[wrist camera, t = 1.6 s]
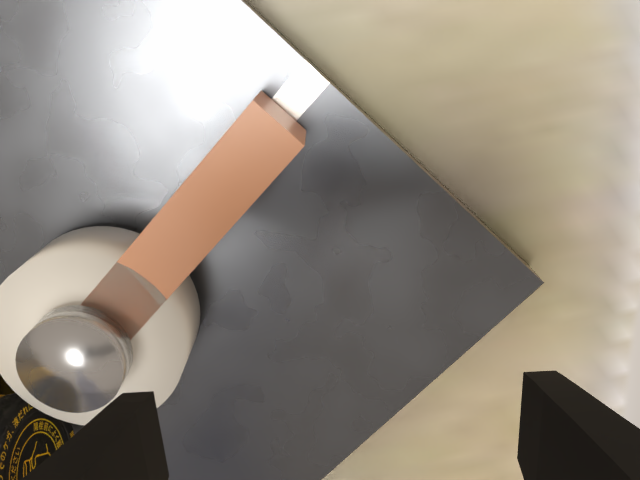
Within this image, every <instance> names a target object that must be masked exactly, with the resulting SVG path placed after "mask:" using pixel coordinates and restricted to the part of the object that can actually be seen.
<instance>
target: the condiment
mask: <svg viewBox="0 0 640 480" xmlns="http://www.w3.org/2000/svg"><path fill="white" fill-rule="evenodd" d="M73 435H74V430H73V427H72V423H69V422H65V421H62V420H59V419H56V418H54V417H52V416H50V415H47V414H45V413H43V412H41V411H40V410H38V409H36V408H35V407H33V406H31V405H30V404H29V403H27V402H26V401H25V400H23V399H22V398H21V397H20V396H19V395H18V394H17V393H14V394H7V395H1V394H0V480H21V479H22V478H23V477H25V476H26V475H27V474H28V473H30V472H31V471H32V470H33V469H35V468H36V467H37V466H38V465H40V464H41V463H42V462H43V461H45V460H46V459H47V458H48V457H49V456H50V455H52V454H53V453H54V452H55V451H56V450H57V449H58V448H60V447H61V446H62V445H63V444H64V443H65V442H67V441H68V440H69V439H70V438H71V437H72V436H73Z"/></svg>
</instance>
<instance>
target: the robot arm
mask: <svg viewBox="0 0 640 480" xmlns="http://www.w3.org/2000/svg"><path fill="white" fill-rule="evenodd" d="M517 459H518V462H519V465H520V468H521V471H522V474H523V477H524V480H640V429H639V428H637V427H636V426H635V425H633V424H632V423H630V422H629V421H627V420H626V419H624V418H623V417H622V416H620V415H619V414H617V413H616V412H614V411H613V410H612V409H610V408H609V407H607V406H606V405H604V404H603V403H602V402H600V401H599V400H597V399H596V398H595V397H593V396H592V395H590V394H589V393H588V392H586V391H585V390H583V389H582V388H580V387H579V386H578V385H576V384H575V383H573V382H572V381H570V380H569V379H568V378H566V377H565V376H563V375H562V374H560V373H558V372H557V371H539V372H524V373H523V387H522V401H521V415H520V428H519V442H518V456H517ZM168 478H169V471H168V466H167V461H166V455H165V450H164V445H163V439H162V434H161V429H160V423H159V418H158V413H157V407H156V402H155V397H154V391H150V392H131V393H122V394H121V395H120V396H118V397H117V398H116V399H115V400H113V401H112V402H111V403H110V404H109V405H107V406H106V407H105V408H104V409H103V410H102V411H101V412H99V413H98V414H97V415H96V416H95V417H94V418H93V419H92V420H90V421H89V422H88V423H87V424H86V425H85V426H84V427H83V428H81V429H80V430H79V431H78V432H77V433H76V434H75V435H73V436H72V437H71V438H70V439H69V440H68V441H67V442H65V443H64V444H63V445H62V446H61V447H60V448H58V449H57V450H56V451H55V452H54V453H53V454H52V455H50V456H49V457H48V458H47V459H46V460H45V461H43V462H42V463H41V464H40V465H38V466H37V467H36V468H35V469H33V470H32V471H31V472H30V473H28V474H27V475H26V476H25V477H23V478H22V479H21V480H168Z"/></svg>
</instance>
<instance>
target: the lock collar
mask: <svg viewBox="0 0 640 480" xmlns="http://www.w3.org/2000/svg"><path fill="white" fill-rule="evenodd" d="M305 139H306V130H305V129H304V128H303V127H302V126H301V125H300V124H299V123H298V122H296V121H295V120H294V119H293V118H292V117H291V116H290V115H289V114H287V113H286V112H285V111H284V110H283V109H282V108H281V107H280V106H279V105H277V104H276V103H275V102H274V101H273V100H272V99H271V98H270V97H268V96H267V95H266V94H265V93H264V92H263V91H262V90H261V91H260V92H259V94H258V95H257V96H256V97H255V98H254V99H253V101H252V102H251V103H250V104H249V105H248V106H247V108H246V109H245V110H244V111H243V112H242V114H241V115H240V116H239V117H238V118H237V120H236V121H235V122H234V123H233V124H232V125H231V127H230V128H229V129H228V130H227V131H226V133H225V134H224V135H223V136H222V137H221V139H220V140H219V141H218V142H217V143H216V144H215V146H214V147H213V148H212V149H211V150H210V152H209V153H208V154H207V155H206V156H205V158H204V159H203V160H202V161H201V162H200V163H199V165H198V166H197V167H196V168H195V169H194V171H193V172H192V173H191V174H190V175H189V177H188V178H187V179H186V180H185V181H184V182H183V184H182V185H181V186H180V187H179V188H178V190H177V191H176V192H175V193H174V194H173V196H172V197H171V198H170V199H169V200H168V201H167V203H166V204H165V205H164V206H163V207H162V209H161V210H160V211H159V212H158V213H157V215H156V216H155V217H154V218H153V219H152V220H151V222H150V223H149V224H148V225H147V226H146V228H145V229H144V230H143V231H142V232H141V234H139V233H137V232H134V231H131V230H127V229H123V228H118V227H111V226H93V227H84V228H80V229H76V230H73V231H70V232H68V233H65V234H63V235H61V236H59V237H57V238H56V239H54V240H52V241H51V242H50V243H49V244H47V245H46V246H45V247H44V248H42V249H41V250H40V251H39V252H38V253H36V254H35V255H34V256H33V257H31V258H30V259H29V260H28V261H27V262H25V263H24V264H23V265H22V266H20V267H19V268H18V269H17V270H16V271H14V272H13V273H12V274H11V275H9V276H8V277H7V278H6V279H5V281H4V282H3V283H2V284H1V285H0V374H1V376H2V377H3V379H4V380H5V382H6V383H7V384H8V385H9V386H10V387H11V388H12V390H13V391H14V392H15V393H17V394H18V395H19V396H20V397H21V398H22V399H23V400H25V401H26V402H27V403H29V404H30V405H31V406H33V407H35V408H36V409H38V410H40V411H41V412H43V413H45V414H47V415H50V416H52V417H54V418H56V419H59V420H62V421H65V422H69V423H73V424H78V425H86V424H87V423H88V422H89V421H90V420H92V419H93V418H94V417H95V416H96V415H97V414H98V413H99V412H101V411H102V410H103V409H104V408H105V407H106V406H107V405H109V404H110V403H111V402H112V401H113V400H115V399H116V398H117V397H118V396H120V395H121V394H122V393H131V392H150V391H154V397H155V402H156V407H157V408H158V407H159V406H160V405H161V404H163V403H164V402H165V401H166V400H167V399H168V397H169V396H170V395H171V394H172V393H173V391H174V389H175V388H176V386H177V384H178V382H179V380H180V377H181V375H182V372H183V370H184V367H185V365H186V362H187V360H188V357H189V355H190V352H191V349H192V347H193V344H194V342H195V339H196V337H197V334H198V329H199V325H200V303H199V299H198V294H197V291H196V289H195V286H194V283H193V281H192V279H191V278H190V276H189V274H190V273H191V272H192V271H193V270H194V269H195V268H196V267H197V265H198V264H199V263H200V262H201V261H202V260H203V259H204V258H205V257H206V255H207V254H208V253H209V252H210V251H211V250H212V249H213V248H214V247H215V245H216V244H217V243H218V242H219V241H220V240H221V239H222V238H223V236H224V235H225V234H226V233H227V232H228V231H229V230H230V229H231V228H232V226H233V225H234V224H235V223H236V222H237V221H238V220H239V219H240V218H241V216H242V215H243V214H244V213H245V212H246V211H247V210H248V209H249V207H250V206H251V205H252V204H253V203H254V202H255V201H256V200H257V199H258V197H259V196H260V195H261V194H262V193H263V192H264V191H265V190H266V188H267V187H268V186H269V185H270V184H271V183H272V182H273V181H274V180H275V178H276V177H277V176H278V175H279V174H280V173H281V172H282V171H283V170H284V168H285V167H286V166H287V165H288V164H289V163H290V162H291V161H292V159H293V158H294V157H295V156H296V155H297V154H298V153H299V152H300V151H301V149H302V148H303V147H304V146H305ZM70 305H82V306H88V307H92V308H95V309H98V310H100V311H102V312H104V313H106V314H108V315H109V316H111V317H112V318H114V319H115V320H116V321H117V322H118V323H119V324H120V325H121V326H122V327H123V328H124V330H125V331H126V333H127V334H128V336H129V338H130V341H131V344H132V348H133V362H132V366H131V368H130V371H129V372H128V374H127V376H126V378H125V380H124V382H123V383H122V385H121V387H120V389H119V391H118V393H117V394H116V396H115V397H114V398H113V399H112V400H111V401H110V402H109V403H107V404H106V405H105V406H103V407H101V408H99V409H96V410H93V411H89V412H83V413H71V412H64V411H60V410H57V409H54V408H51V407H49V406H47V405H45V404H43V403H42V402H40V401H39V400H37V399H36V398H35V397H33V396H32V395H31V394H30V393H29V392H28V390H27V389H26V388H25V387H24V385H23V384H22V382H21V380H20V378H19V376H18V373H17V369H16V360H15V359H16V352H17V349H18V346H19V344H20V342H21V341H22V339H23V338H24V337H25V336H26V335H27V334H28V332H29V331H30V330H31V329H32V328H33V327H34V326H35V325H36V324H37V323H38V322H39V321H40V320H41V319H42V318H43V317H44V316H45V315H46V314H47V313H49V312H51V311H52V310H54V309H57V308H60V307H64V306H70Z"/></svg>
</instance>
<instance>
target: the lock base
mask: <svg viewBox="0 0 640 480" xmlns="http://www.w3.org/2000/svg"><path fill="white" fill-rule="evenodd" d="M261 90H262V91H263V92H264V93H265V94H266V95H267V96H268V97H270V98H271V99H272V100H273V101H274V102H275V103H276V104H277V105H279V106H280V107H281V108H282V109H283V110H284V111H285V112H286V113H287V114H289V115H290V116H291V117H292V118H293V119H294V120H295V121H296V122H298V123H299V124H300V125H301V126H302V127H303V128H304V129H305V130H306V139H305V146H304V147H303V148H302V149H301V151H300V152H299V153H298V154H297V155H296V156H295V157H294V158H293V159H292V161H291V162H290V163H289V164H288V165H287V166H286V167H285V168H284V170H283V171H282V172H281V173H280V174H279V175H278V176H277V177H276V178H275V180H274V181H273V182H272V183H271V184H270V185H269V186H268V187H267V188H266V190H265V191H264V192H263V193H262V194H261V195H260V196H259V197H258V199H257V200H256V201H255V202H254V203H253V204H252V205H251V206H250V207H249V209H248V210H247V211H246V212H245V213H244V214H243V215H242V216H241V218H240V219H239V220H238V221H237V222H236V223H235V224H234V225H233V226H232V228H231V229H230V230H229V231H228V232H227V233H226V234H225V235H224V236H223V238H222V239H221V240H220V241H219V242H218V243H217V244H216V245H215V247H214V248H213V249H212V250H211V251H210V252H209V253H208V254H207V255H206V257H205V258H204V259H203V260H202V261H201V262H200V263H199V264H198V265H197V267H196V268H195V269H194V270H193V271H192V272H191V273H190V274H189V276H190V278H191V279H192V281H193V283H194V286H195V289H196V291H197V294H198V299H199V303H200V325H199V329H198V334H197V337H196V339H195V342H194V344H193V347H192V349H191V352H190V355H189V357H188V360H187V362H186V365H185V367H184V370H183V372H182V375H181V377H180V380H179V382H178V384H177V386H176V388H175V389H174V391H173V393H172V394H171V395H170V396H169V397H168V399H167V400H166V401H165V402H164V403H163V404H161V405H160V406H159V407H158V408H157V413H158V418H159V423H160V429H161V434H162V439H163V445H164V450H165V455H166V461H167V466H168V471H169V478H168V480H321V479H323V478H324V477H325V476H326V475H327V474H328V473H329V472H331V471H332V470H333V469H334V468H335V467H336V466H337V465H338V464H340V463H341V462H342V461H343V460H344V459H345V458H346V457H347V456H349V455H350V454H351V453H352V452H353V451H354V450H355V449H357V448H358V447H359V446H360V445H361V444H362V443H363V442H364V441H366V440H367V439H368V438H369V437H370V436H371V435H372V434H373V433H375V432H376V431H377V430H378V429H379V428H380V427H381V426H383V425H384V424H385V423H386V422H387V421H388V420H389V419H390V418H392V417H393V416H394V415H395V414H396V413H397V412H398V411H399V410H401V409H402V408H403V407H404V406H405V405H406V404H407V403H409V402H410V401H411V400H412V399H413V398H414V397H415V396H416V395H418V394H419V393H420V392H421V391H422V390H423V389H424V388H426V387H427V386H428V385H429V384H430V383H431V382H432V381H433V380H435V379H436V378H437V377H438V376H439V375H440V374H441V373H442V372H444V371H445V370H446V369H447V368H448V367H449V366H450V365H452V364H453V363H454V362H455V361H456V360H457V359H458V358H459V357H461V356H462V355H463V354H464V353H465V352H466V351H467V350H468V349H470V348H471V347H472V346H473V345H474V344H475V343H476V342H478V341H479V340H480V339H481V338H482V337H483V336H484V335H485V334H487V333H488V332H489V331H490V330H491V329H492V328H493V327H494V326H496V325H497V324H498V323H499V322H500V321H501V320H502V319H504V318H505V317H506V316H507V315H508V314H509V313H510V312H511V311H513V310H514V309H515V308H516V307H517V306H518V305H519V304H520V303H522V302H523V301H524V300H525V299H526V298H527V297H528V296H530V295H531V294H532V293H533V292H534V291H535V290H536V289H537V288H539V287H540V286H541V285H542V284H543V283H544V282H543V281H542V280H541V279H540V278H539V276H538V275H537V274H536V273H535V272H534V271H533V269H532V268H531V267H530V266H529V265H528V264H527V263H526V262H525V261H524V260H523V259H521V258H520V257H519V256H518V255H517V254H516V253H515V252H514V251H513V250H512V249H511V248H510V247H509V246H508V245H507V244H505V243H504V242H503V241H502V240H501V239H500V238H499V237H498V236H497V235H496V234H495V233H494V232H493V231H492V230H490V229H489V228H488V227H487V226H486V225H485V224H484V223H483V222H482V221H481V220H480V219H479V218H478V217H477V216H475V215H474V214H473V213H472V212H471V211H470V210H469V209H468V208H467V207H466V206H465V205H464V204H463V203H462V202H460V201H459V200H458V199H457V198H456V197H455V196H454V195H453V194H452V193H451V192H450V191H449V190H448V189H447V188H446V187H444V186H443V185H442V184H441V183H440V182H439V181H438V180H437V179H436V178H435V177H434V176H433V175H432V174H431V173H429V172H428V171H427V170H426V169H425V168H424V167H423V166H422V165H421V164H420V163H419V162H418V161H417V160H416V159H414V158H413V157H412V156H411V155H410V154H409V153H408V152H407V151H406V150H405V149H404V148H403V147H402V146H401V145H399V144H398V143H397V142H396V141H395V140H394V139H393V138H392V137H391V136H390V135H389V134H388V133H387V132H386V131H385V130H383V129H382V128H381V127H380V126H379V125H378V124H377V123H376V122H375V121H374V120H373V119H372V118H371V117H370V116H368V115H367V114H366V113H365V112H364V111H363V110H362V109H361V108H360V107H359V106H358V105H357V104H356V103H355V102H353V101H352V100H351V99H350V98H349V97H348V96H347V95H346V94H345V93H344V92H343V91H342V90H341V89H340V88H338V87H337V86H336V85H335V84H334V83H333V82H332V81H331V80H330V79H329V78H328V77H327V76H326V75H325V74H324V73H322V72H321V71H320V70H319V69H318V68H317V67H316V66H315V65H314V64H313V63H312V62H311V61H310V60H309V59H307V58H306V57H305V56H304V55H303V54H302V53H301V52H300V51H299V50H298V49H297V48H296V47H295V46H294V45H292V44H291V43H290V42H289V41H288V40H287V39H286V38H285V37H284V36H283V35H282V34H281V33H280V32H279V31H277V30H276V29H275V28H274V27H273V26H272V25H271V24H270V23H269V22H268V21H267V20H266V19H265V18H264V17H263V16H261V15H260V14H259V13H258V12H257V11H256V10H255V9H254V8H253V7H252V6H251V5H250V4H249V3H248V2H246V1H245V0H0V285H1V284H2V283H3V282H4V281H5V279H6V278H7V277H8V276H9V275H11V274H12V273H13V272H14V271H16V270H17V269H18V268H19V267H20V266H22V265H23V264H24V263H25V262H27V261H28V260H29V259H30V258H31V257H33V256H34V255H35V254H36V253H38V252H39V251H40V250H41V249H42V248H44V247H45V246H46V245H47V244H49V243H50V242H51V241H52V240H54V239H56V238H57V237H59V236H61V235H63V234H65V233H68V232H70V231H73V230H76V229H80V228H84V227H93V226H111V227H118V228H123V229H127V230H131V231H134V232H137V233H139V234H141V232H142V231H143V230H144V229H145V228H146V226H147V225H148V224H149V223H150V222H151V220H152V219H153V218H154V217H155V216H156V215H157V213H158V212H159V211H160V210H161V209H162V207H163V206H164V205H165V204H166V203H167V201H168V200H169V199H170V198H171V197H172V196H173V194H174V193H175V192H176V191H177V190H178V188H179V187H180V186H181V185H182V184H183V182H184V181H185V180H186V179H187V178H188V177H189V175H190V174H191V173H192V172H193V171H194V169H195V168H196V167H197V166H198V165H199V163H200V162H201V161H202V160H203V159H204V158H205V156H206V155H207V154H208V153H209V152H210V150H211V149H212V148H213V147H214V146H215V144H216V143H217V142H218V141H219V140H220V139H221V137H222V136H223V135H224V134H225V133H226V131H227V130H228V129H229V128H230V127H231V125H232V124H233V123H234V122H235V121H236V120H237V118H238V117H239V116H240V115H241V114H242V112H243V111H244V110H245V109H246V108H247V106H248V105H249V104H250V103H251V102H252V101H253V99H254V98H255V97H256V96H257V95H258V94H259V92H260V91H261ZM15 360H16V369H17V373H18V376H19V378H20V380H21V382H22V384H23V385H24V387H25V388H26V389H27V390H28V392H29V393H30V394H31V395H32V396H33V397H35V398H36V399H37V400H39V401H40V402H42V403H43V404H45V405H47V406H49V407H51V408H54V409H57V410H60V411H64V412H71V413H83V412H89V411H93V410H96V409H99V408H101V407H103V406H105V405H106V404H107V403H109V402H110V401H111V400H112V399H113V398H114V397H115V396H116V394H117V393H118V391H119V389H120V387H121V385H122V383H123V382H124V380H125V378H126V376H127V374H128V372H129V371H130V368H131V366H132V362H133V348H132V344H131V341H130V338H129V336H128V334H127V333H126V331H125V330H124V328H123V327H122V326H121V325H120V324H119V323H118V322H117V321H116V320H115V319H114V318H112V317H111V316H109V315H108V314H106V313H104V312H102V311H100V310H98V309H95V308H92V307H88V306H82V305H70V306H64V307H60V308H57V309H54V310H52V311H51V312H49V313H47V314H46V315H45V316H44V317H43V318H42V319H41V320H40V321H39V322H38V323H37V324H36V325H35V326H34V327H33V328H32V329H31V330H30V331H29V332H28V334H27V335H26V336H25V337H24V338H23V339H22V341H21V342H20V344H19V346H18V349H17V352H16V359H15ZM14 393H15V392H14V391H13V390H12V388H11V387H10V386H9V385H8V384H7V383H6V382H5V380H4V379H3V377H2V376H1V374H0V394H1V395H7V394H14ZM84 426H85V425H78V424H73V423H72V427H73V430H74V435H75V434H76V433H77V432H78V431H79V430H80V429H81V428H83V427H84Z"/></svg>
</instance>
